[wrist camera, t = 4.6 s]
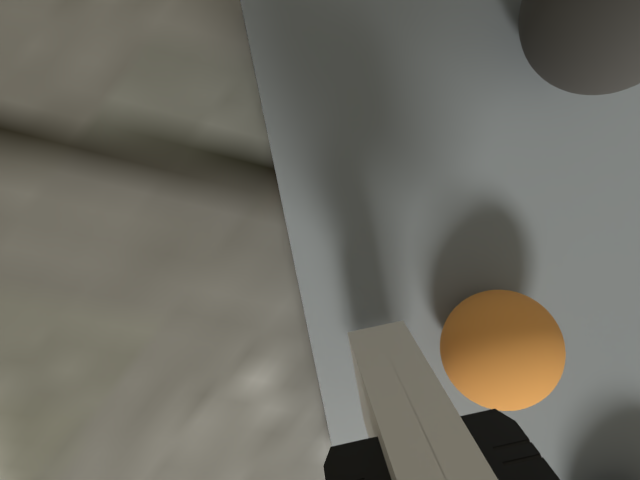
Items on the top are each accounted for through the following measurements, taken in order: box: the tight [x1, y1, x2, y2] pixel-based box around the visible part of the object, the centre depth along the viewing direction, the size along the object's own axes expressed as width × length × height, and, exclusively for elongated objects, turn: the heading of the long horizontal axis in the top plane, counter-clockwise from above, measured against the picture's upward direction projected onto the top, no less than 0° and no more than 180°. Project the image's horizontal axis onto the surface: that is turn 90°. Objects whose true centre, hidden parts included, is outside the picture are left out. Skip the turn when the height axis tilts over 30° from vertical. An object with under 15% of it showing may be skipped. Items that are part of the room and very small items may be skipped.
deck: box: [240, 0, 640, 480], centre depth 17 cm, size 22×20×2 cm
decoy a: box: [518, 0, 640, 95], centre depth 12 cm, size 4×4×4 cm
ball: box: [440, 290, 566, 411], centre depth 14 cm, size 3×3×3 cm
